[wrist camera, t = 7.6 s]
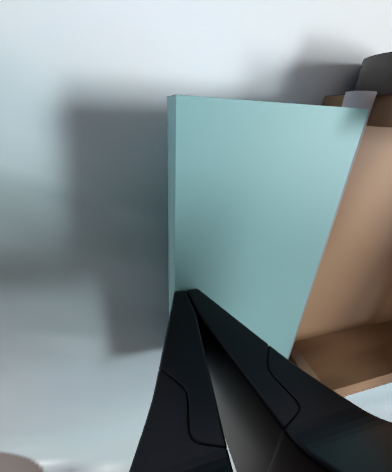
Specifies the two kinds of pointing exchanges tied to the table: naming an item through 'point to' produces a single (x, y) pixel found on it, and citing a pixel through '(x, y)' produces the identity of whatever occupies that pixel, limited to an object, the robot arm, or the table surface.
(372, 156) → the truck bed
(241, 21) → the table surface
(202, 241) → the panel
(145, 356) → the table surface
